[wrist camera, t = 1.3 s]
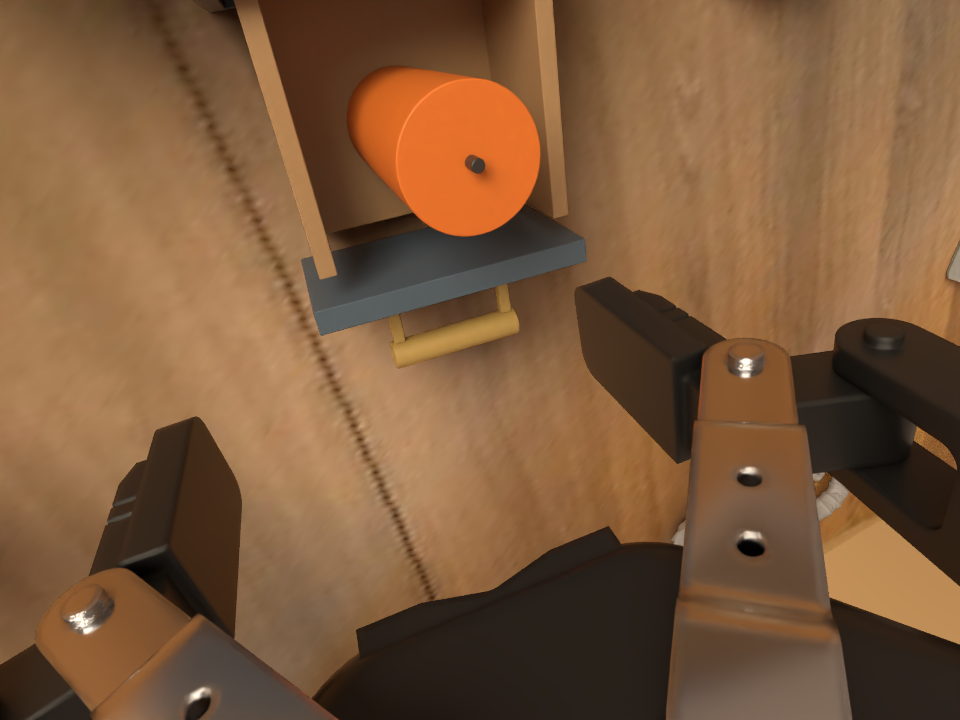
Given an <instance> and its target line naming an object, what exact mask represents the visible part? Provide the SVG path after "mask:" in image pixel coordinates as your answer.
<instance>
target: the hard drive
mask: <svg viewBox="0 0 960 720" xmlns="http://www.w3.org/2000/svg"><path fill="white" fill-rule="evenodd" d="M947 278H949V279H951V280H955V281H958V282H960V242H959V244H958V247H957V249H956V251H955V254H954V256H953V258H952V261H951V263H950V266H949V268H948V271H947Z"/></svg>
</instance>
